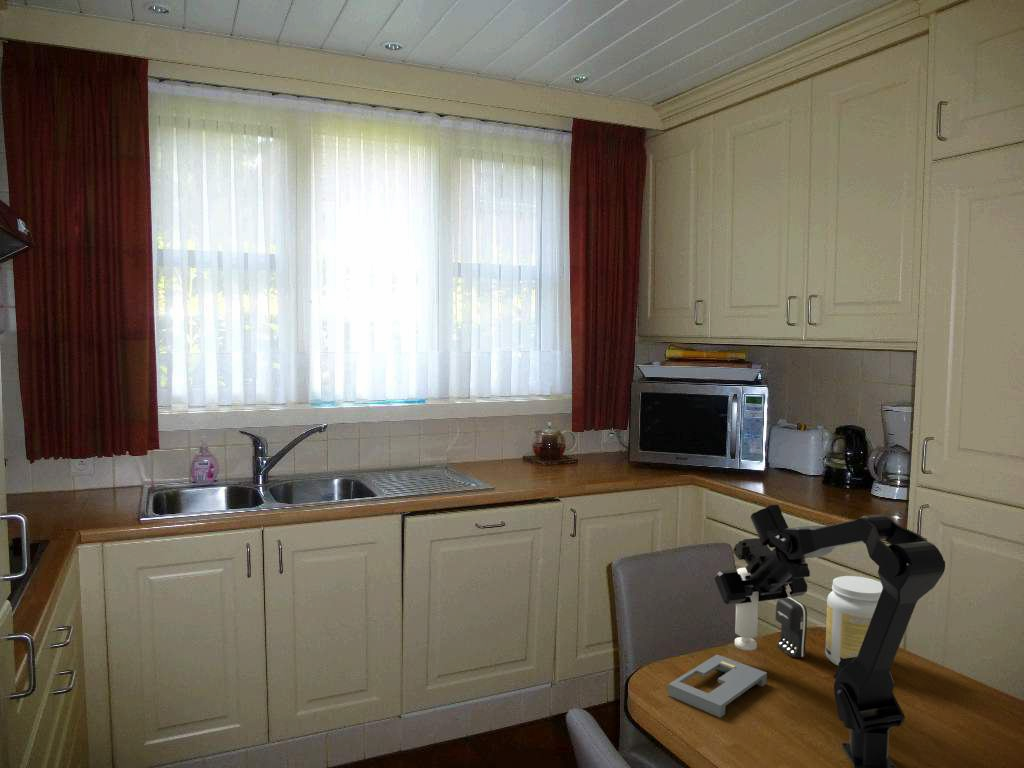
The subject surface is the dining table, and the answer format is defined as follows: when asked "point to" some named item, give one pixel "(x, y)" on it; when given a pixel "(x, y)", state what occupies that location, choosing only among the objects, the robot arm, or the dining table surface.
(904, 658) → the dining table surface
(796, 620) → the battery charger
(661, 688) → the dining table surface
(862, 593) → the supplement tub
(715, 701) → the keyhole plate
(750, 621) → the footed peg
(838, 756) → the dining table surface
